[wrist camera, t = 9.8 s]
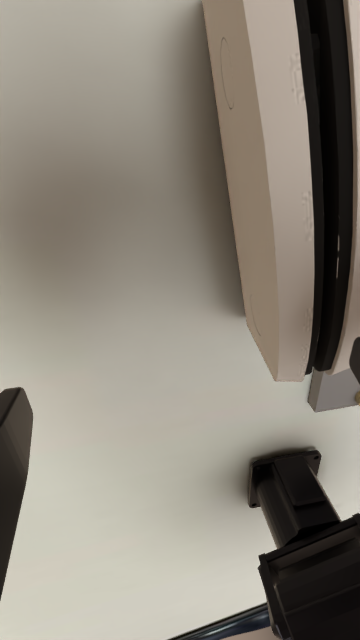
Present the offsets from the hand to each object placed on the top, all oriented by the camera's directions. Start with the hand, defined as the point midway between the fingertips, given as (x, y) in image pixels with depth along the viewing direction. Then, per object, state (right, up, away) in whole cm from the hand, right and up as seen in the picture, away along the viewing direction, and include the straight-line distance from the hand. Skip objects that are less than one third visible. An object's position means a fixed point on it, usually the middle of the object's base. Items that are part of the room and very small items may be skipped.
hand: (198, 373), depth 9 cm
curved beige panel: (+4, +9, +10) cm, 14 cm away
